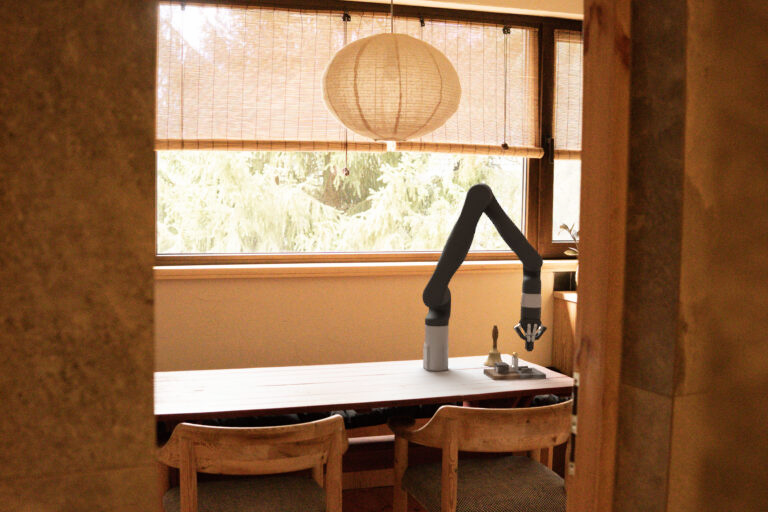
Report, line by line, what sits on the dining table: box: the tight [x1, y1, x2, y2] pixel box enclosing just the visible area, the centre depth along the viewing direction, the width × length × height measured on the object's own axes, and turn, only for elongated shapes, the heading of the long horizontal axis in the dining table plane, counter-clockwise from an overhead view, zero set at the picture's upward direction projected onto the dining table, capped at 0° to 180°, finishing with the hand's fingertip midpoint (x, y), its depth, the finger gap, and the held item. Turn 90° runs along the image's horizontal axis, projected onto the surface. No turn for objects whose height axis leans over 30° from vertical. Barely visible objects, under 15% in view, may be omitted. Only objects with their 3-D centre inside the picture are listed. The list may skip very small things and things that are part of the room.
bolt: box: [494, 351, 519, 372], centre depth 263 cm, size 8×2×7 cm, turn 100°
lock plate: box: [483, 361, 547, 381], centre depth 263 cm, size 20×12×5 cm, turn 100°
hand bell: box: [483, 324, 503, 368], centre depth 283 cm, size 8×8×16 cm
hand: (529, 351), depth 264 cm, fingers closed
